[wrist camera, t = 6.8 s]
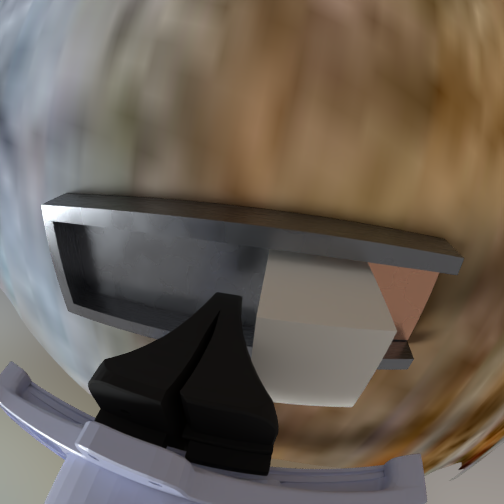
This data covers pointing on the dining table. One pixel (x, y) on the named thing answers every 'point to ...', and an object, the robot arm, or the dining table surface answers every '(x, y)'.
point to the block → (319, 329)
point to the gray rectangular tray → (220, 260)
